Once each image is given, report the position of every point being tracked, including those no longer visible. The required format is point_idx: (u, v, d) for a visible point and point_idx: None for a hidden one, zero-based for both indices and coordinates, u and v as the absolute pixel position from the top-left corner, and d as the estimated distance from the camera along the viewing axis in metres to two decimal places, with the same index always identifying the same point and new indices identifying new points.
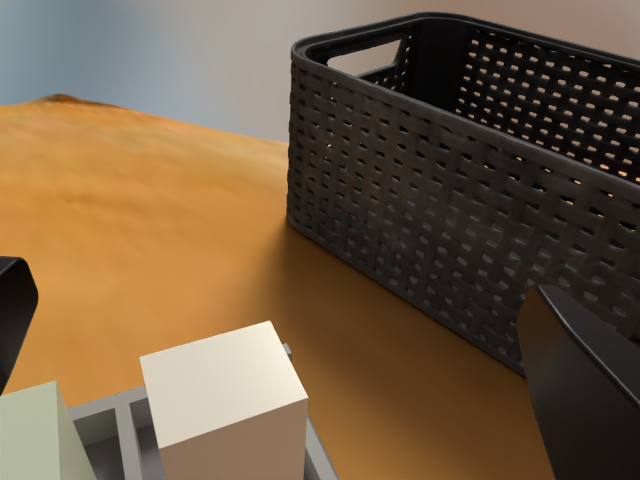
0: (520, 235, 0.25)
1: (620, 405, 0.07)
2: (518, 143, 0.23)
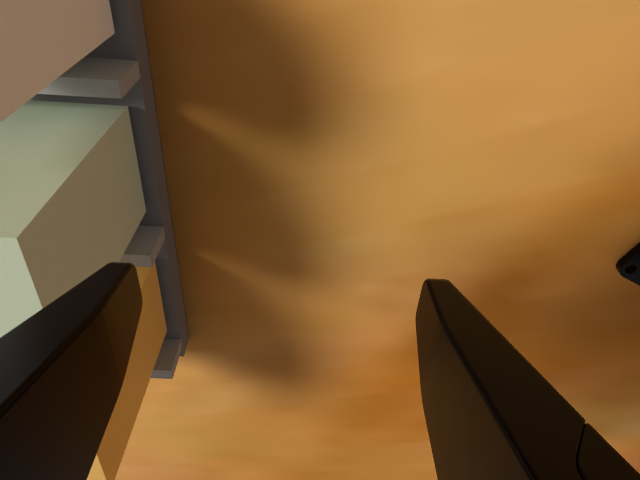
0: None
1: (475, 398, 0.06)
2: None
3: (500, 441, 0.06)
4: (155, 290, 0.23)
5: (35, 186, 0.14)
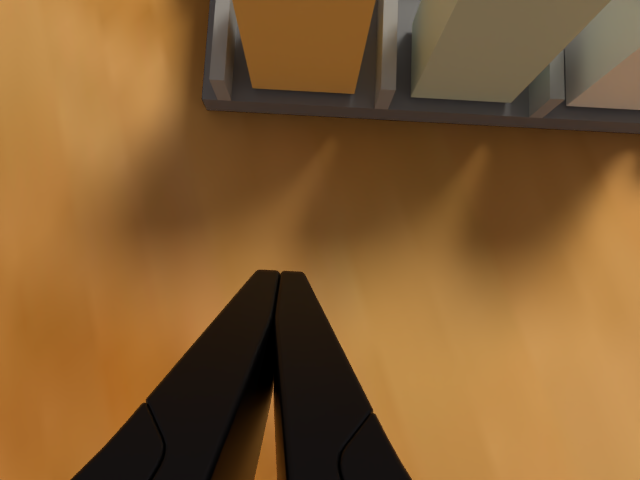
0: None
1: (278, 389, 0.06)
2: None
3: (281, 431, 0.06)
4: (323, 86, 0.22)
5: None
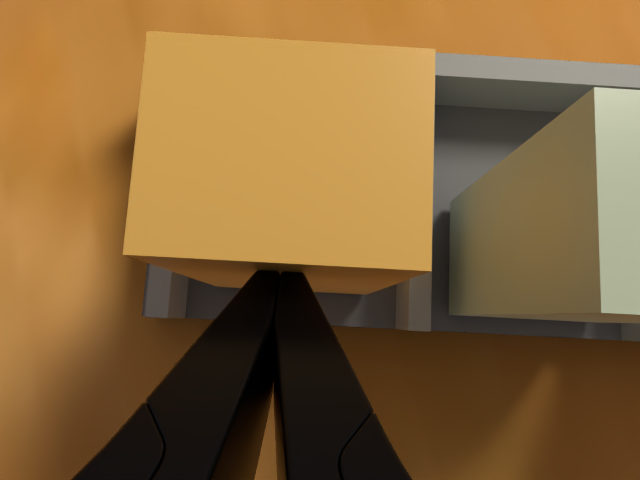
0: None
1: (278, 389, 0.06)
2: None
3: (281, 431, 0.06)
4: (321, 291, 0.15)
5: None
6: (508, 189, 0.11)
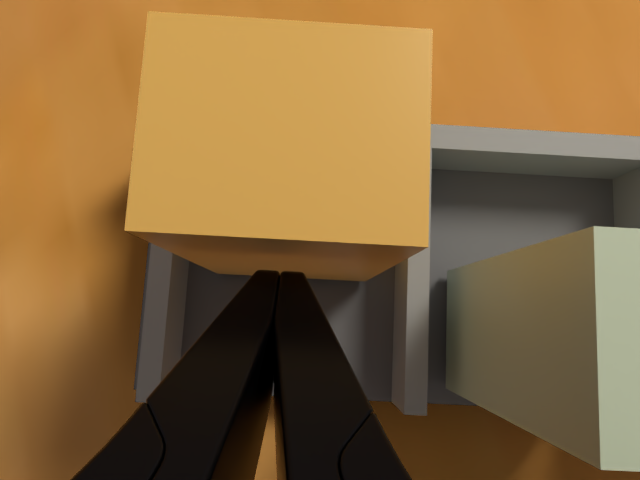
0: None
1: (278, 389, 0.06)
2: None
3: (281, 431, 0.06)
4: (320, 277, 0.15)
5: None
6: (505, 288, 0.11)
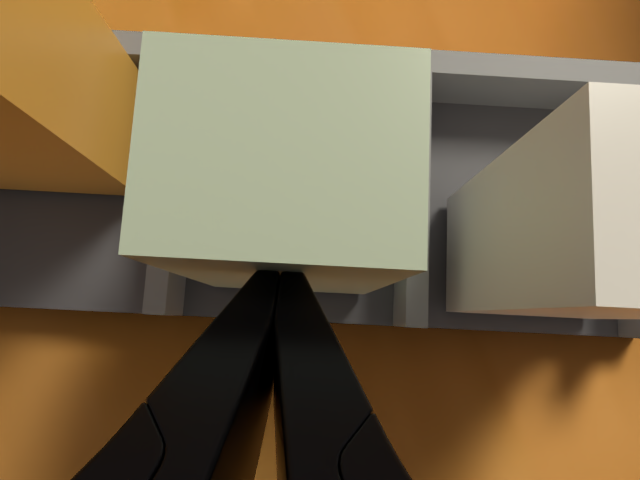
0: None
1: (278, 389, 0.06)
2: None
3: (281, 431, 0.06)
4: (86, 189, 0.15)
5: None
6: None
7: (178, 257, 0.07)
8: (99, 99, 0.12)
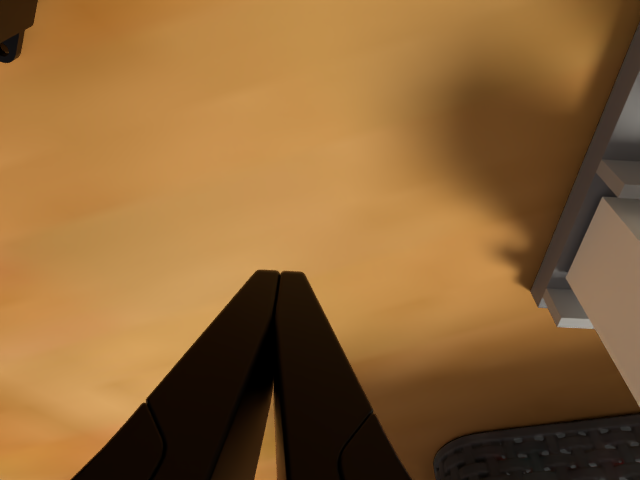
0: None
1: (278, 389, 0.06)
2: None
3: (281, 431, 0.06)
4: None
5: None
6: None
7: None
8: None
